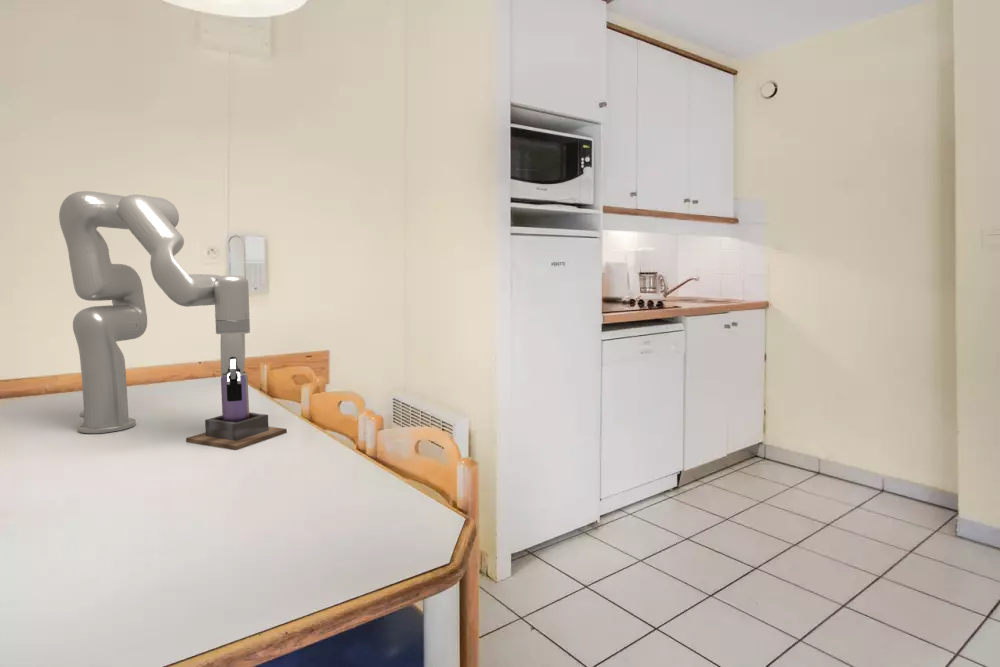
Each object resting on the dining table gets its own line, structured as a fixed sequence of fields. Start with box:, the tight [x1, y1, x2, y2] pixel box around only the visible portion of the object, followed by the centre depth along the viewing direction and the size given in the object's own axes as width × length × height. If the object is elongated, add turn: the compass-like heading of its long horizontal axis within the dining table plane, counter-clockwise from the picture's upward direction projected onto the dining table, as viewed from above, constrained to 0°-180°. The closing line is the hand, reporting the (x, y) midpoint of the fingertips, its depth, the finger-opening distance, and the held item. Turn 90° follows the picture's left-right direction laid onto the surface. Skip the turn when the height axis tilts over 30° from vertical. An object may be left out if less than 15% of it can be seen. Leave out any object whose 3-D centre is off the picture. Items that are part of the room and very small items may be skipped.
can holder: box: [185, 412, 288, 451], centre depth 145 cm, size 16×16×5 cm
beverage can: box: [220, 371, 250, 422], centre depth 145 cm, size 6×6×15 cm
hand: (235, 396), depth 145 cm, fingers open, 9 cm apart
